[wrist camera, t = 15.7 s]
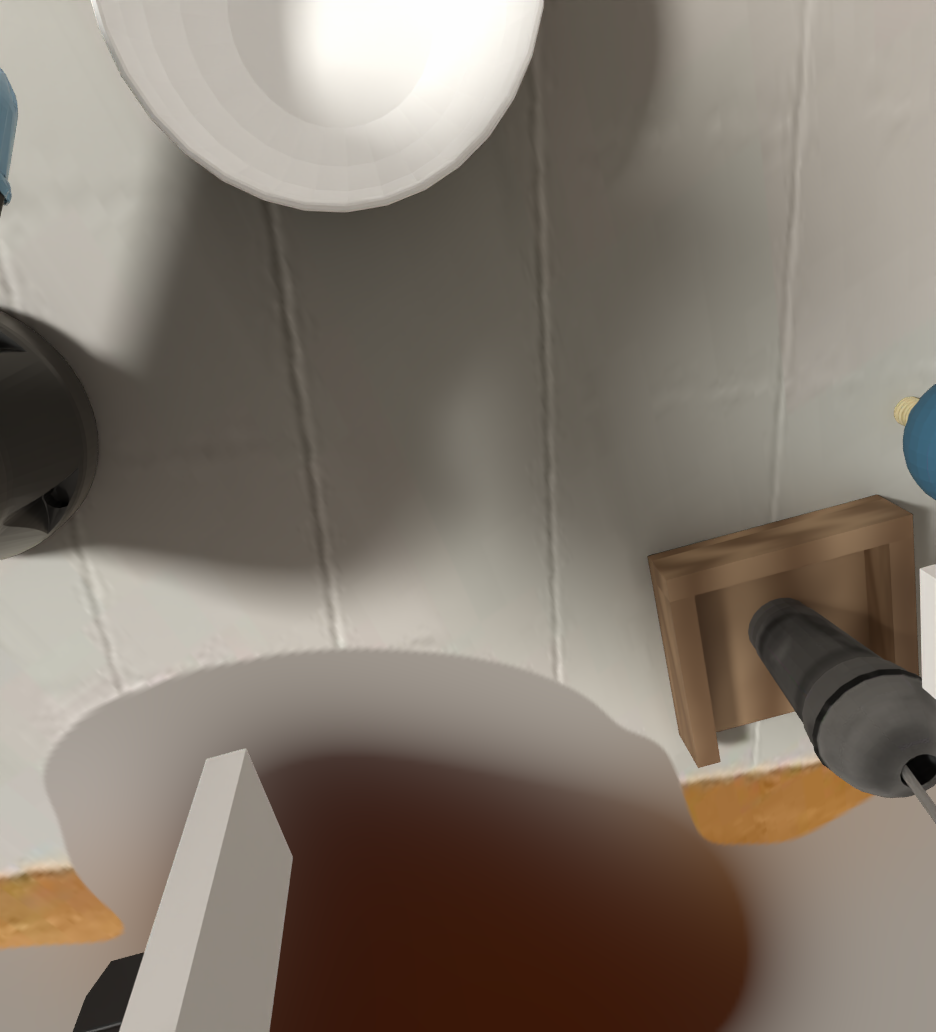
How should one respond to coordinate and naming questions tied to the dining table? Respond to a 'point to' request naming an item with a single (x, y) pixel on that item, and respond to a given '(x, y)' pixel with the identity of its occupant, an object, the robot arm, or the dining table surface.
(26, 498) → the robot arm
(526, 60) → the bowl
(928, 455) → the light bulb
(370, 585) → the dining table surface
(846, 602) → the u rest
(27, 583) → the dining table surface
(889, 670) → the beverage cup
